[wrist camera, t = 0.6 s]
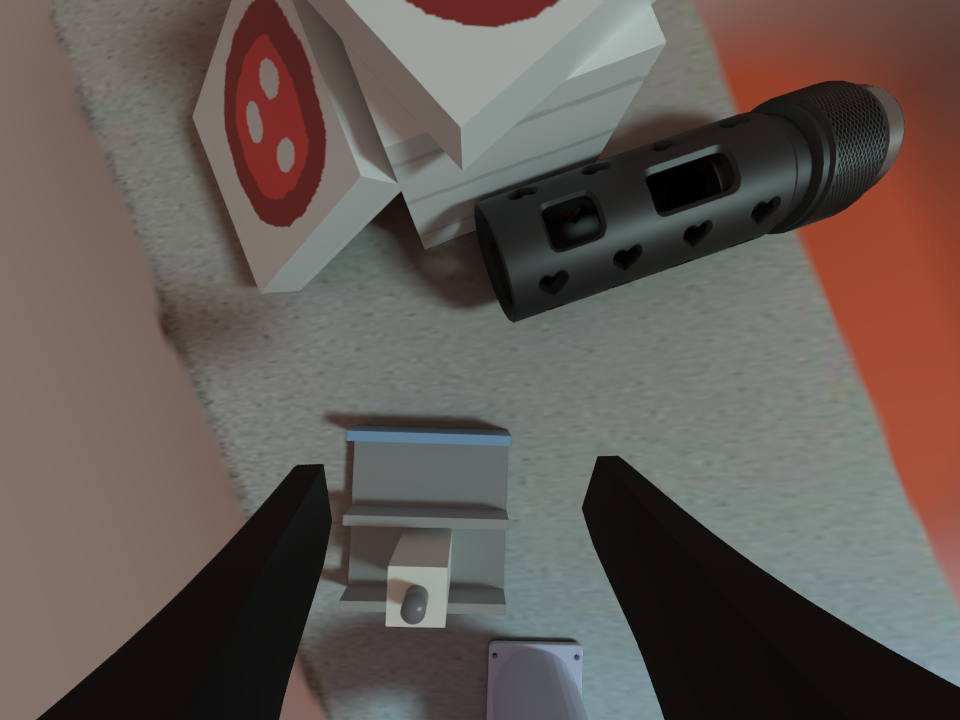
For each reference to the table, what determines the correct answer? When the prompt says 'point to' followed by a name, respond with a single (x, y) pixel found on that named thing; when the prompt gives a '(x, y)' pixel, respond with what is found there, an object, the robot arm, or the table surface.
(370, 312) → the table surface
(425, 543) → the plug
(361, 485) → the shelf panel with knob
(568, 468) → the table surface
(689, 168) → the muzzle brake
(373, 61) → the pizza boxes
